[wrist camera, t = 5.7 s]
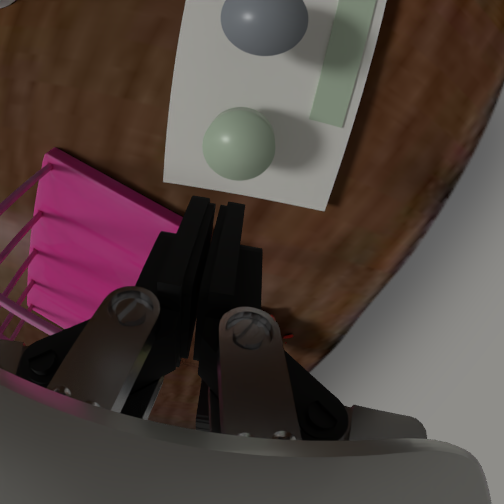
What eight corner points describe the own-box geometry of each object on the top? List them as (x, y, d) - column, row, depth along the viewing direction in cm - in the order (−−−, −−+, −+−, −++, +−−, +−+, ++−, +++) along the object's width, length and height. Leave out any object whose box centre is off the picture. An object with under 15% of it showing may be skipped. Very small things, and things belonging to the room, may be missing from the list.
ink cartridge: (202, 372, 43) (195, 420, 37) (217, 374, 43) (212, 422, 37) (201, 387, 46) (195, 431, 39) (215, 389, 46) (210, 434, 40)
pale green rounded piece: (216, 98, 19) (207, 107, 17) (280, 109, 20) (282, 120, 17) (207, 155, 22) (198, 174, 19) (267, 166, 22) (266, 186, 20)
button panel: (223, -114, 9) (220, -123, 8) (395, -76, 10) (403, -82, 9) (168, 174, 25) (162, 182, 23) (321, 202, 26) (324, 212, 24)
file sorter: (213, 231, 28) (177, 389, 16) (134, 352, 41) (105, 449, 29) (55, 145, 23) (-66, 246, 11) (32, 298, 36) (-17, 385, 24)
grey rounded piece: (235, -13, 14) (229, -25, 11) (307, 0, 14) (316, -9, 11) (222, 49, 16) (213, 49, 13) (293, 61, 16) (298, 64, 14)
